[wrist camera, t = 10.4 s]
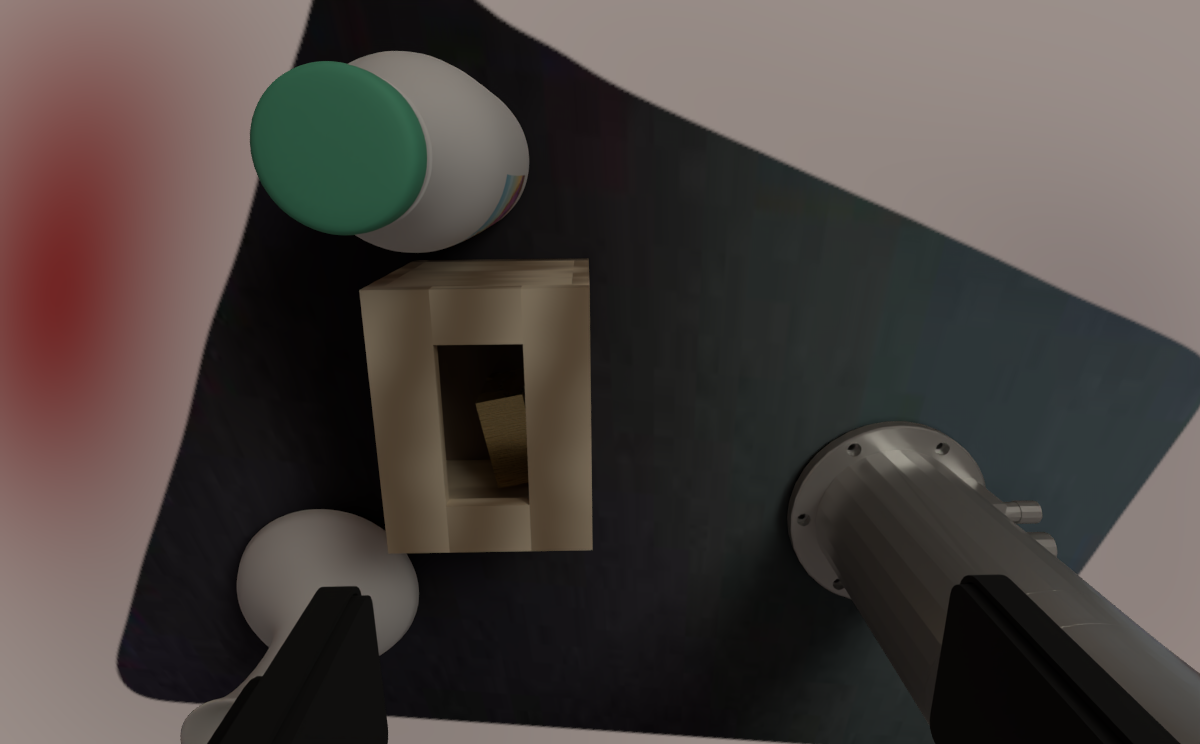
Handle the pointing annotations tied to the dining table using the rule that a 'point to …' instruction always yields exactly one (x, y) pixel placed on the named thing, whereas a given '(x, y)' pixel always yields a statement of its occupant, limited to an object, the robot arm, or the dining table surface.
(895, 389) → the dining table surface
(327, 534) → the flower in vase
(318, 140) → the milk bottle
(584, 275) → the box
